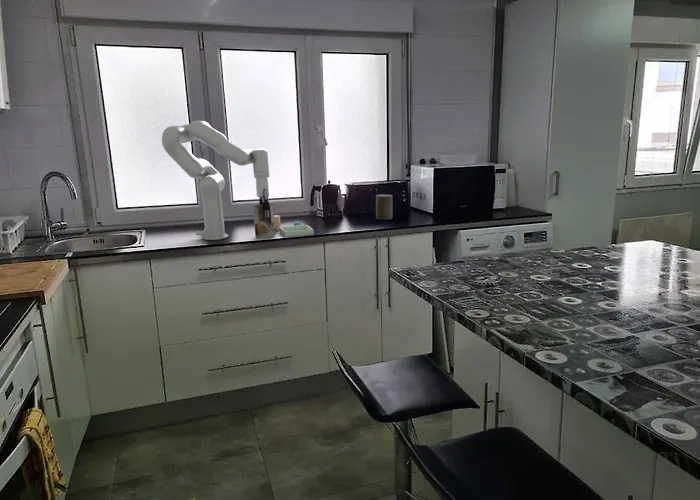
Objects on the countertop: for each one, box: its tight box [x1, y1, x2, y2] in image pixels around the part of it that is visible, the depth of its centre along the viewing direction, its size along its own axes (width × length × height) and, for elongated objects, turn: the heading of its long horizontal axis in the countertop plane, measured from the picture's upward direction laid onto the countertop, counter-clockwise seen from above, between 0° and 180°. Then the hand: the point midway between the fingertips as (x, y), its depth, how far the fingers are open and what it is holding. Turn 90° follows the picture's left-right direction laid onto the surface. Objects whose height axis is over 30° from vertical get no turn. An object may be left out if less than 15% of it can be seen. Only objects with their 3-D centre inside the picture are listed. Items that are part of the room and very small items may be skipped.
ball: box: [293, 220, 302, 226], centre depth 278 cm, size 4×4×4 cm
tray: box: [279, 224, 315, 239], centre depth 263 cm, size 15×15×3 cm
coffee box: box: [252, 203, 276, 239], centre depth 256 cm, size 9×6×16 cm
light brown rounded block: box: [274, 214, 282, 233], centre depth 272 cm, size 7×7×8 cm
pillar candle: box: [375, 194, 393, 221], centre depth 299 cm, size 10×10×15 cm
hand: (264, 209), depth 255 cm, fingers open, 9 cm apart
